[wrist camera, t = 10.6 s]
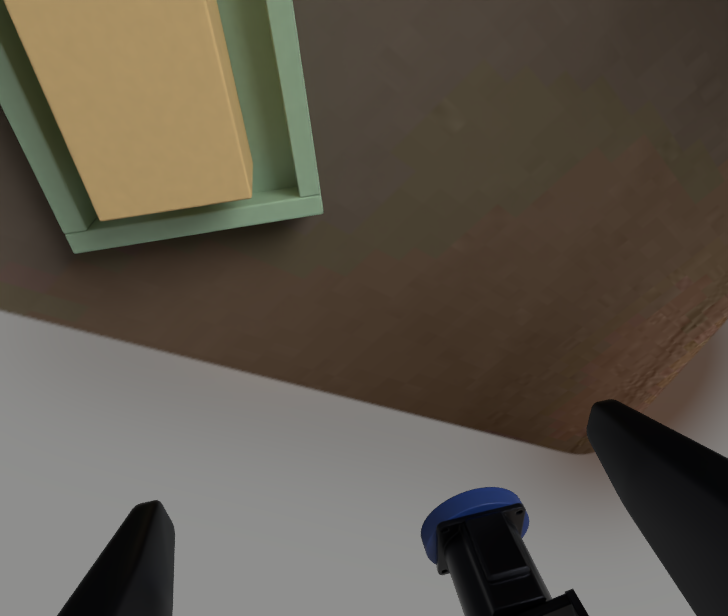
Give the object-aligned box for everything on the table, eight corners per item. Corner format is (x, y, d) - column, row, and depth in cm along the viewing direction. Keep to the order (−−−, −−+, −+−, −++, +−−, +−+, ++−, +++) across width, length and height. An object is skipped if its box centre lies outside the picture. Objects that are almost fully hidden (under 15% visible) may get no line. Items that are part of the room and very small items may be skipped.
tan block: (253, 164, 18) (252, 199, 14) (129, 182, 17) (99, 222, 14) (191, -114, 13) (169, -157, 10) (21, -101, 13) (-61, -141, 9)
